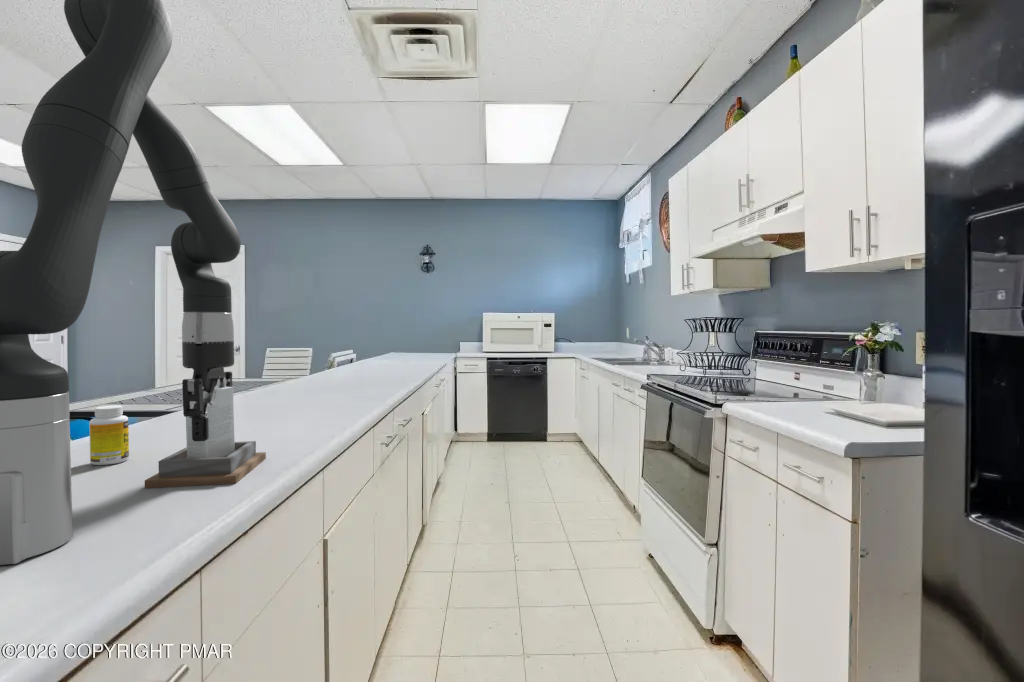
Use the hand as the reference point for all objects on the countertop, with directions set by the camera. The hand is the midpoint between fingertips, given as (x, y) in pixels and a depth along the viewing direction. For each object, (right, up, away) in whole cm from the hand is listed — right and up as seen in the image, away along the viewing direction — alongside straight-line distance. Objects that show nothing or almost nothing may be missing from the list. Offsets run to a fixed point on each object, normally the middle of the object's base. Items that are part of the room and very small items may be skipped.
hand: (210, 435), depth 84 cm
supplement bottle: (-22, -6, +6) cm, 24 cm away
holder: (0, -6, 0) cm, 6 cm away
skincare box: (0, -4, 0) cm, 4 cm away
